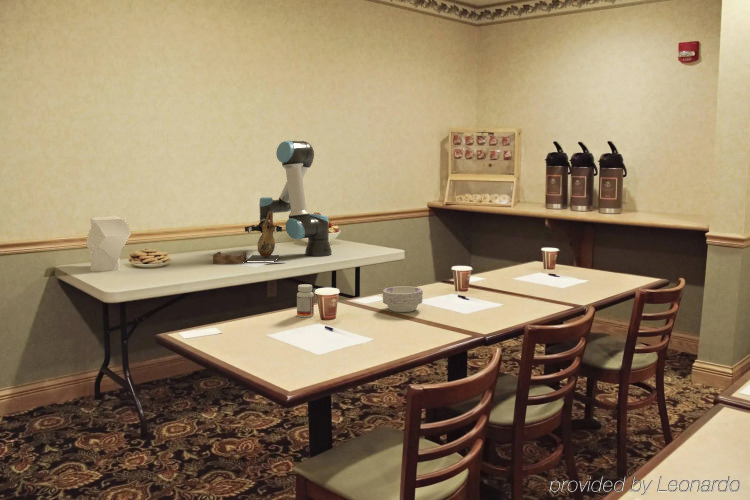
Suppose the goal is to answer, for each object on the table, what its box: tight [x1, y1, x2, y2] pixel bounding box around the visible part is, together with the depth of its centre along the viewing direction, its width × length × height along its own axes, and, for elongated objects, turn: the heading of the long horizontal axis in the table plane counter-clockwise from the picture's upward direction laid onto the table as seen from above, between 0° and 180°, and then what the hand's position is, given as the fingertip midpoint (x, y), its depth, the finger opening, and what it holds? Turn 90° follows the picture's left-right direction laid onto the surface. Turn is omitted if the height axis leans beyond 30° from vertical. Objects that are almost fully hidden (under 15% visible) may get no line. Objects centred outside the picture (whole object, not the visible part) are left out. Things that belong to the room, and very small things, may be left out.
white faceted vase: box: [85, 215, 132, 272], centre depth 342 cm, size 21×27×26 cm
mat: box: [246, 254, 280, 263], centre depth 371 cm, size 15×18×1 cm
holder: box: [212, 251, 248, 265], centre depth 363 cm, size 15×13×4 cm
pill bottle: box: [296, 283, 315, 318], centre depth 248 cm, size 6×6×11 cm
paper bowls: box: [382, 285, 424, 313], centre depth 259 cm, size 15×15×8 cm
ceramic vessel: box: [257, 211, 276, 257], centre depth 370 cm, size 16×9×25 cm, turn 28°
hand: (262, 231), depth 365 cm, fingers open, 13 cm apart
